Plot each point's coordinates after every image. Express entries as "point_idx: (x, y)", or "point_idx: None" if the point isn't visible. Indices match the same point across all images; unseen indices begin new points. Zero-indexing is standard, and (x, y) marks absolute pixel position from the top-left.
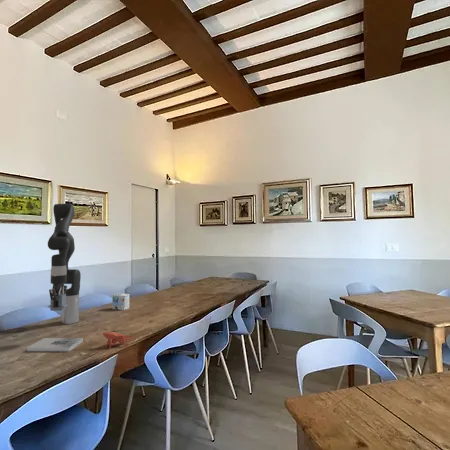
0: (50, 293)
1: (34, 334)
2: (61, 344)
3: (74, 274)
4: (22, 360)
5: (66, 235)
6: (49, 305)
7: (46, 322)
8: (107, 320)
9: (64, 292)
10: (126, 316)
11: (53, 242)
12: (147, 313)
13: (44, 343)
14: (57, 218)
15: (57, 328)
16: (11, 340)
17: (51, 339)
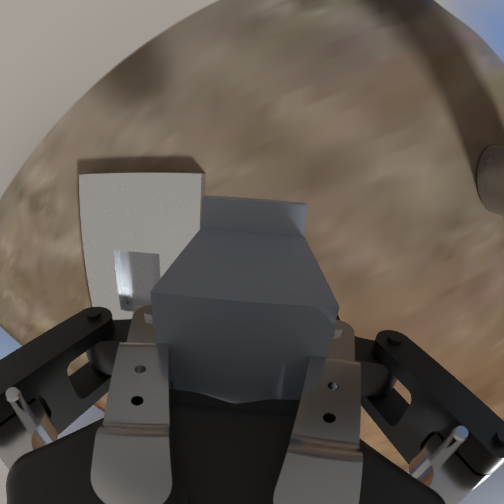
0: (7, 372)
1: (331, 68)
2: (158, 277)
3: None
4: (30, 215)
5: None
6: (229, 201)
7: (493, 77)
8: (476, 322)
9: (382, 425)
10: (489, 359)
11: None
12: (485, 395)
13: (122, 221)
14: None
15: (424, 147)
16: (236, 14)
17: (176, 224)
